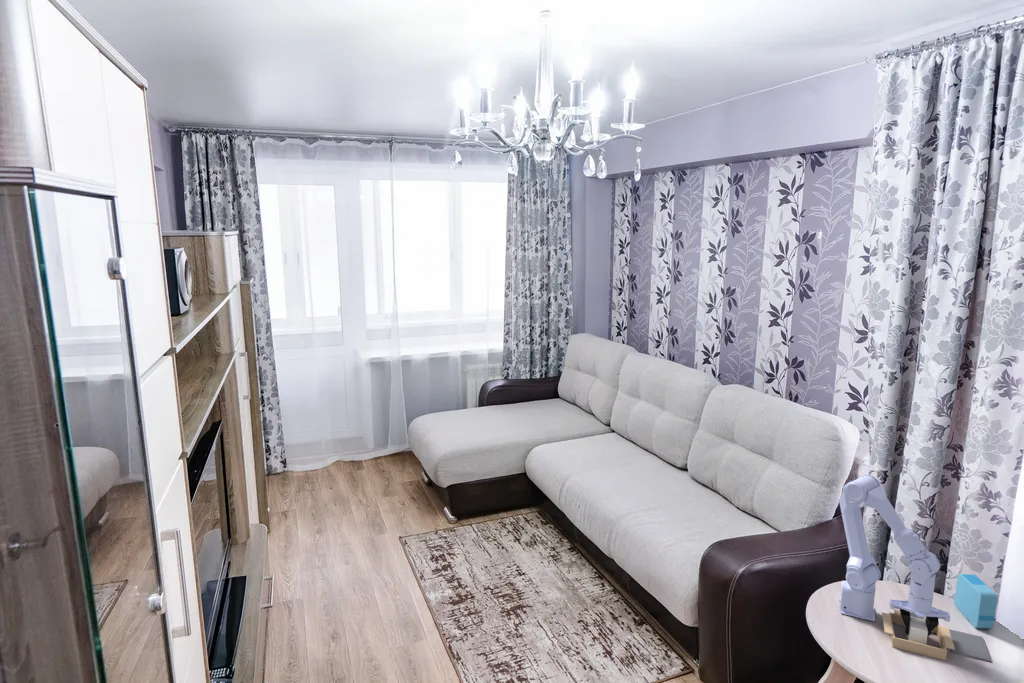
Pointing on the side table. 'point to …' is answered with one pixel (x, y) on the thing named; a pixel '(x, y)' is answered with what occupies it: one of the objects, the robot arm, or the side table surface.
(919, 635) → the capped box
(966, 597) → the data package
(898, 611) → the carton
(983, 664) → the side table surface
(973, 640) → the mat
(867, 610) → the robot arm
